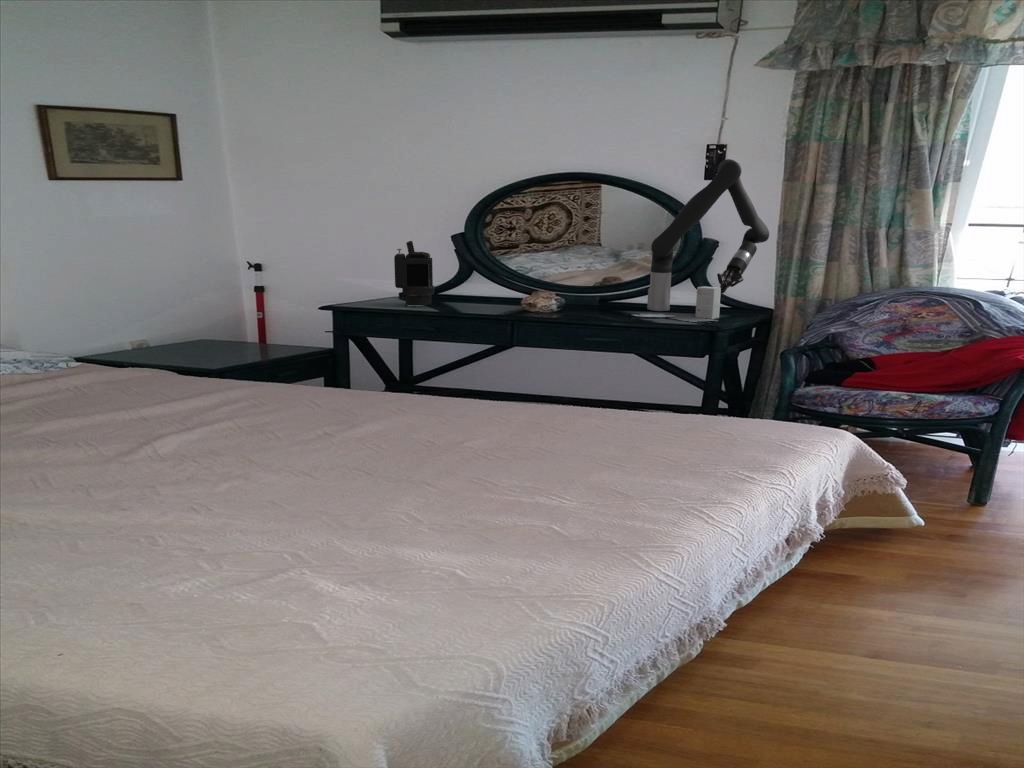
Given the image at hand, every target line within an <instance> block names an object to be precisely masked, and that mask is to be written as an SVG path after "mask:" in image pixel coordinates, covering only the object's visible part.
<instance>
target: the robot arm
mask: <svg viewBox="0 0 1024 768" xmlns="http://www.w3.org/2000/svg"><path fill="white" fill-rule="evenodd" d="M716 170H717V174H716V175H714V177H713V179H711V181H710V182H709V183H708V184H707V185H706V186H704V187H703V188H702V189H701V190H700V191H698V192H697V193H695V194H694V195H693V196H692V197H691V198H690V199H689V200H688V201H687V203H686V204H685V205H684V206H682V208H681V210H680V211H679V212H678V214H677V215H676V216H675V218H674V219H673V221H672V222H671V223H670V224H669V225H668V226H667V228H665V230H664V231H662V232H661V233H660V234H659V235H658V236H657V237H655V238H654V239H653V241H652V243H651V246H650V247H651V249H650V250H651V252H652V255H651V256H652V257H651V266H650V279H649V281H650V283H649V288H648V289H647V306H646V308H647V310H649V311H655V312H664V311H665V312H666V311H667V312H668V311H670V307H671V306H670V304H671V290H672V288H671V287H672V268H673V260H674V259H673V258H674V247H675V246H676V244H678V242H679V241H680V239H681V238H682V237H683V236H684V235H685V234H686V233H688V232H689V231H690V230H691V229H692V228H693V227H694V226H695V225H697V224H698V222H700V221H701V219H702V218H703V217H704V216H705V215H706V214H707V213H708V212H709V211H710V209H711V208H712V207H713V206H714V204H716V202H717V201H718V200H719V198H721V196H722V195H723V194H724V193H725V192H726V191H728V193H729V194H730V196H731V199H732V201H733V204H734V206H735V209H736V211H737V213H738V216H739V219H740V220H741V222H742V225H744V226H747V227H750V228H748V229H747V230H746V231H745V232H744V234H743V238H742V241H741V245H740V246H739V248H738V250H737V251H736V252H734V255H732V258H731V259H730V261H729V262H728V264H727V266H726V269H725V270H723V272H722V273H717V280H718V284H719V285H720V286H719V287H720V288H721V295H723V294H724V293H726V291H727V289H728V288H730V287H731V288H733V287H735V286H736V285H738V284H740V283H741V282H743V281H744V277H743V274H744V272H745V271H746V270H747V267H748V266H749V265H750V264H751V263H750V262H751V261H752V259H753V257H754V256H755V254H756V252H757V249H758V248H757V245H756V244H760V243H761V244H762V243H765V242H767V241H768V240H769V238H770V231H769V230H770V229H769V228H768V227H767V225H766V223H765V222H764V221H763V220H762V219H761V217H760V216H759V215H758V213H757V210H756V208H755V206H754V204H753V202H752V200H751V198H750V196H749V195H748V193H747V191H746V189H745V187H744V185H743V183H742V180H741V175H742V166H741V165H740V163H739V162H737V161H736V160H734V159H731V158H730V159H729V158H726V159H723V160H722V161H721V162H720V163H719V164H718V166H717V169H716Z"/></svg>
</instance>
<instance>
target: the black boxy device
mask: <svg viewBox="0 0 1024 768" xmlns="http://www.w3.org/2000/svg"><path fill="white" fill-rule="evenodd" d="M413 243H414V242H413V240H409V241H407V242H406V248H407V252H408V253H407V254H405V253H401V251H402V249H403V248H397V249H396V251H398V253H397V254H395V255H394V258H393V259H394V261H393V263H394V265H393V266H394V286H395V288H396V289H401V290H402V295H404V296H405V305H406V304H407V305H427V304H431V303H432V301H433V299H432V298H433V297H432V295H435V285H434V284H433V283H434V281H433V280H434V279H433V278H434V277H433V257H431V254H430V253H428V252H425V251H415V248H414V244H413Z"/></svg>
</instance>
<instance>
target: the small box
mask: <svg viewBox="0 0 1024 768" xmlns="http://www.w3.org/2000/svg"><path fill="white" fill-rule="evenodd" d="M721 295H722V294H721V288H720V286H718V287H716V286H697V288H696V298H695V299H696V300H695V302H696V303H695V316H694V317H698V318H705V319H706V318H707V319H713V320H716V319H719V318H720V309H721Z"/></svg>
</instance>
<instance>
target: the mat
mask: <svg viewBox="0 0 1024 768" xmlns="http://www.w3.org/2000/svg"><path fill="white" fill-rule="evenodd" d="M675 317H676V318H677V319H678V320H682V321H681V322H685V321H689V322H688V323H691V322H697V321H715V322H719V319H706V318H698V317H695V316H690V315H677V316H675ZM678 320H677V321H678Z"/></svg>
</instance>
